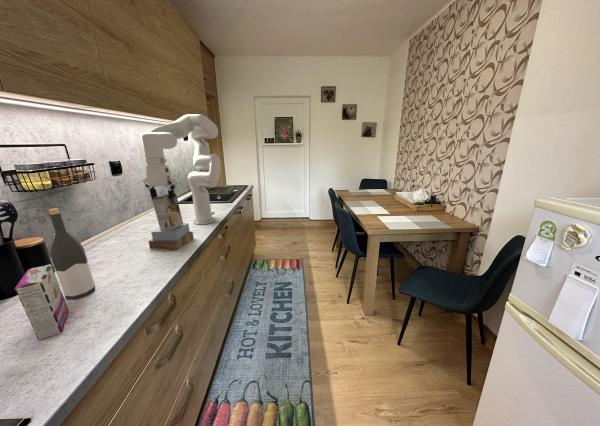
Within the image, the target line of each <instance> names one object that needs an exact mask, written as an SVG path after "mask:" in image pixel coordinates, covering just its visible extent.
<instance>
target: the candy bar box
mask: <svg viewBox="0 0 600 426" xmlns="http://www.w3.org/2000/svg"><path fill="white" fill-rule="evenodd" d="M52 265H53V264H50V263H49V264H45V265H41V266H37V267H32V268H28V269H27V271H26V272H25V273H24V275H23V276H22V278H21V279H20V280H19V282H18V283H17V285H16V286H15V288H14V290H15V292H16V294H17V296H18V299H19V300H20V303H21V305H22V307H23V309H24V311H25V314H26V316H27V318H28V320H29V322H30V325H31V327H32V329H33V331H34V333H35V335H36V338H37V340H38V341H43V340H46V339H49V338H51V337H54V336H57V335H60V334H63V331H64V329H65V326H66V325H65V324H66V322H67V319H68V315H69V311H70V310H69V307H68V305H67V304H68V303H67V302H66V300H65V299H66V298H65V296H64V295H63V294H64V293H63V290H62V288H61V287H60V286H61V285H60V284H59V280H58V279H57V278H58V277H57V276H56V273H55V271H54V267H53V266H52Z"/></svg>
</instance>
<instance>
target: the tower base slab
mask: <svg viewBox="0 0 600 426" xmlns="http://www.w3.org/2000/svg"><path fill="white" fill-rule="evenodd" d="M194 239H195V238H194V232H193V231H189V232H188V233H187V234H186V235H184V236H183V237H182V238H180V239H179V240H178V241H153V238H151V239H150V240H148V245H149V249H150V250H151V249H153V250H161V251H162V250H166V251H178V250H179V249H181V248H182V247H183V246H185V245H187V244H189V242H191V241H192V240H194Z"/></svg>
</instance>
